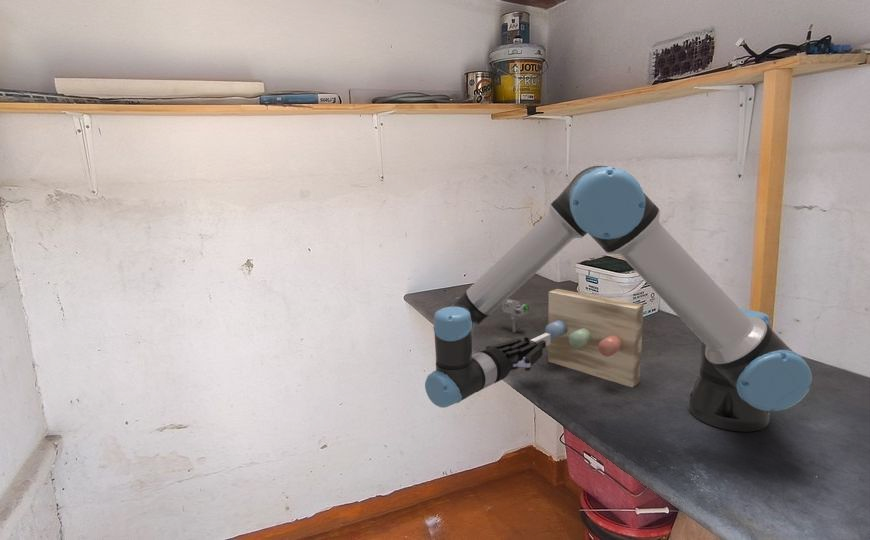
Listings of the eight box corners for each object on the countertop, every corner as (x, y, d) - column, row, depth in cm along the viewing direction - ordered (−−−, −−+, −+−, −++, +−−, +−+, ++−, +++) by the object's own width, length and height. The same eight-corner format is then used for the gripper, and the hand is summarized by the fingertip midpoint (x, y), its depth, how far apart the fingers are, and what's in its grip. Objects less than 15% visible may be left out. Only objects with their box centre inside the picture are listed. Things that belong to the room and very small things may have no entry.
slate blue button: (558, 340, 130) (558, 325, 129) (545, 336, 133) (545, 322, 132) (566, 336, 132) (567, 321, 132) (553, 332, 135) (554, 318, 134)
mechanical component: (524, 336, 158) (524, 306, 156) (499, 329, 166) (499, 300, 164) (530, 333, 160) (530, 303, 158) (505, 326, 168) (505, 298, 166)
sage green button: (582, 349, 123) (583, 334, 122) (568, 345, 126) (568, 330, 125) (591, 345, 126) (591, 330, 125) (577, 341, 128) (577, 326, 128)
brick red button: (613, 358, 117) (614, 342, 116) (597, 354, 120) (598, 338, 119) (621, 353, 120) (622, 337, 119) (606, 349, 123) (606, 333, 122)
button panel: (632, 387, 122) (635, 308, 117) (548, 361, 139) (548, 291, 134) (639, 382, 125) (643, 304, 120) (556, 357, 142) (557, 288, 137)
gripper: (464, 375, 116) (527, 346, 132) (509, 393, 107) (570, 359, 123) (463, 345, 115) (526, 319, 130) (508, 360, 105) (570, 330, 121)
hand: (547, 338), depth 126 cm, fingers closed
